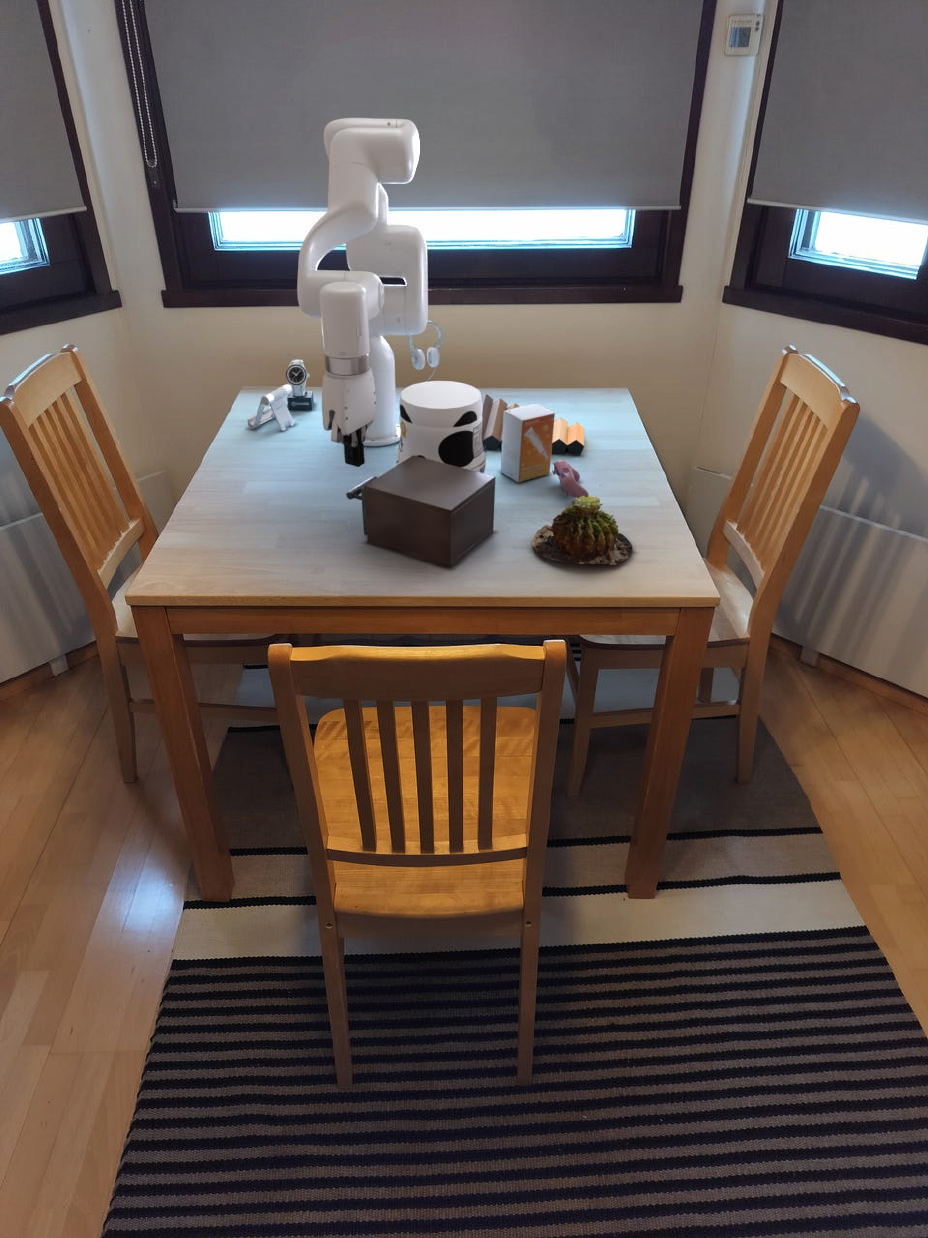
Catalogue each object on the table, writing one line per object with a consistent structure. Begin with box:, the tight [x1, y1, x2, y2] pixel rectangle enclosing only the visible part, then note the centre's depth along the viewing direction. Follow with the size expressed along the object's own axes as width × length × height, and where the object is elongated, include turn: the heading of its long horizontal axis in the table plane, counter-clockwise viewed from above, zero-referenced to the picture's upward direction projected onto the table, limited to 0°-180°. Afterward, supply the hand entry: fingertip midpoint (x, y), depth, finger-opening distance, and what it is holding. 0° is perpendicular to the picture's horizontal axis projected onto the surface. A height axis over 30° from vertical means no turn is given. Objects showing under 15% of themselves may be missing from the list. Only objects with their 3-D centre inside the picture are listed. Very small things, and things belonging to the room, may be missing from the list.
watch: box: [285, 359, 315, 412], centre depth 194 cm, size 6×8×11 cm
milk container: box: [395, 380, 487, 474], centre depth 158 cm, size 17×17×18 cm
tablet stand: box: [247, 383, 295, 432], centre depth 185 cm, size 9×8×8 cm
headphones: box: [408, 320, 443, 382], centre depth 192 cm, size 8×4×20 cm, turn 120°
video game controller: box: [551, 458, 590, 499], centre depth 160 cm, size 10×5×7 cm, turn 5°
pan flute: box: [481, 393, 585, 456], centre depth 186 cm, size 25×3×25 cm
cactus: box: [531, 495, 633, 566], centre depth 140 cm, size 17×16×10 cm
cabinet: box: [364, 455, 496, 570], centre depth 142 cm, size 17×15×11 cm
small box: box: [500, 403, 555, 483], centre depth 164 cm, size 8×6×13 cm
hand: (355, 463), depth 149 cm, fingers closed
